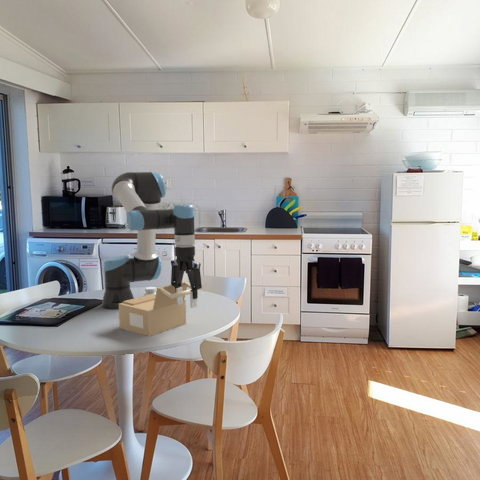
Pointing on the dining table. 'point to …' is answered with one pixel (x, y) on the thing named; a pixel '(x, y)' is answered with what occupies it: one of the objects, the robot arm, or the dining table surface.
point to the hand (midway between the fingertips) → (186, 305)
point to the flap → (169, 295)
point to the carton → (150, 316)
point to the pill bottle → (150, 290)
